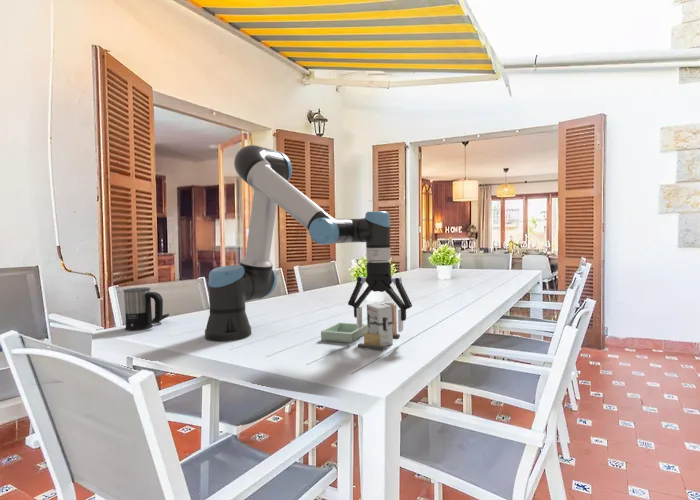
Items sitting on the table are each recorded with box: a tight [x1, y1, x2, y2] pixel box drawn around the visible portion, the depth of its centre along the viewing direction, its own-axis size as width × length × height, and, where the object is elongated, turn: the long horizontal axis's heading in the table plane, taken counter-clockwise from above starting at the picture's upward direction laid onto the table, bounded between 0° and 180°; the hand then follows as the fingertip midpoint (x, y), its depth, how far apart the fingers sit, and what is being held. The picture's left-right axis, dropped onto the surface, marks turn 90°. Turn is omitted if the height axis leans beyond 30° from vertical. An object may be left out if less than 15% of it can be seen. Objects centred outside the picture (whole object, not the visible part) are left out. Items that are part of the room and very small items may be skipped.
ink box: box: [366, 302, 394, 347], centre depth 133 cm, size 8×5×12 cm, turn 23°
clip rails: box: [363, 325, 395, 345], centre depth 133 cm, size 5×14×4 cm, turn 156°
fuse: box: [383, 301, 398, 334], centre depth 142 cm, size 4×3×11 cm, turn 66°
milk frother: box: [122, 286, 170, 332], centre depth 162 cm, size 14×16×15 cm
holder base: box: [357, 333, 401, 351], centre depth 133 cm, size 8×16×1 cm, turn 156°
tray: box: [320, 322, 367, 344], centre depth 140 cm, size 11×14×3 cm
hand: (379, 329), depth 133 cm, fingers open, 13 cm apart
